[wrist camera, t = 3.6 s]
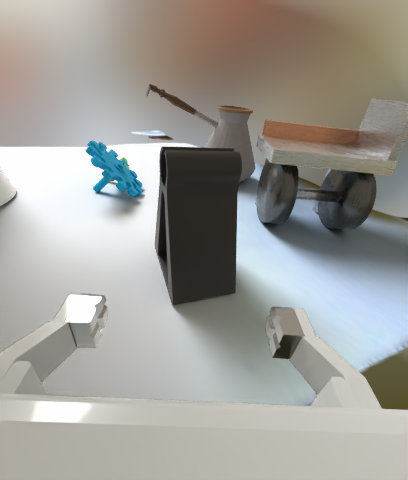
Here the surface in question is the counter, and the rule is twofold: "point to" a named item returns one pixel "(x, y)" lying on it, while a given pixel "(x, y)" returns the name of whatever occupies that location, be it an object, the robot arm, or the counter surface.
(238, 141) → the coffee pot
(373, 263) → the counter surface
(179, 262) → the phone stand
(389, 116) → the trolley
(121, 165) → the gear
